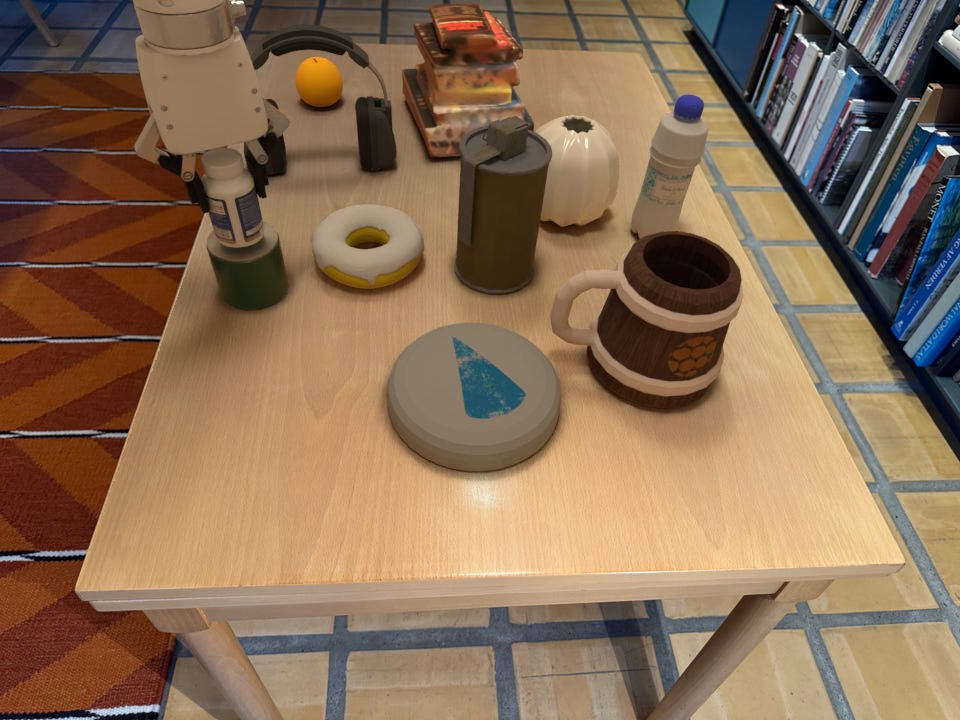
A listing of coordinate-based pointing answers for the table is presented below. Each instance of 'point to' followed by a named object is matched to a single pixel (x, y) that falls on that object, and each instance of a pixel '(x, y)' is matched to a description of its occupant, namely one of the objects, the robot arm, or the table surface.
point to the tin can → (250, 271)
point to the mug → (657, 318)
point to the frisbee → (473, 396)
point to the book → (462, 76)
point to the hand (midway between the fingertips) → (231, 197)
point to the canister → (500, 205)
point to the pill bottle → (231, 198)
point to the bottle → (670, 167)
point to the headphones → (370, 111)
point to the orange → (319, 82)
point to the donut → (371, 264)
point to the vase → (578, 170)
